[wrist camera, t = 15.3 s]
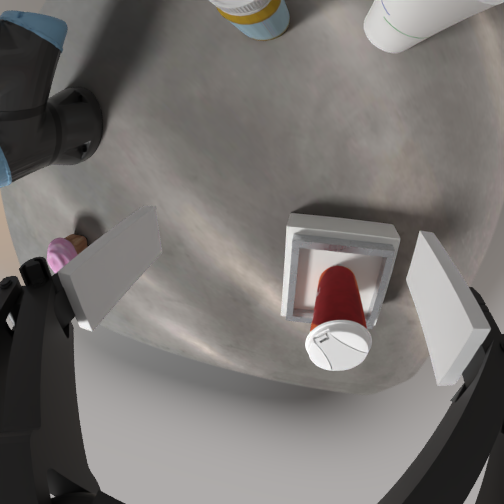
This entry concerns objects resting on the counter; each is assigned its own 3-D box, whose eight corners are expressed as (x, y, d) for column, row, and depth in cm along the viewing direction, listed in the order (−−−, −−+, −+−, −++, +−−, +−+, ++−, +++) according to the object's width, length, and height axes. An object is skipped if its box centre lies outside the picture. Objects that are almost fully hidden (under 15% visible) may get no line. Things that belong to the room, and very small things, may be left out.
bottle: (300, 27, 29) (288, -11, 17) (255, 50, 32) (221, 24, 20) (273, -8, 27) (248, -54, 14) (231, 15, 30) (187, -20, 17)
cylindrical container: (399, 5, 24) (473, -73, 3) (420, 49, 26) (524, 9, 5) (355, 13, 26) (391, -83, 5) (376, 57, 29) (450, 3, 8)
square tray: (284, 297, 51) (279, 323, 45) (290, 212, 43) (284, 232, 37) (372, 306, 48) (376, 333, 42) (393, 224, 40) (403, 245, 34)
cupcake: (91, 227, 54) (60, 250, 45) (99, 262, 58) (72, 287, 50) (65, 224, 55) (35, 245, 47) (74, 257, 60) (47, 280, 51)
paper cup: (301, 278, 42) (290, 348, 31) (342, 249, 39) (347, 317, 27) (333, 310, 44) (331, 381, 32) (373, 284, 40) (385, 356, 28)
